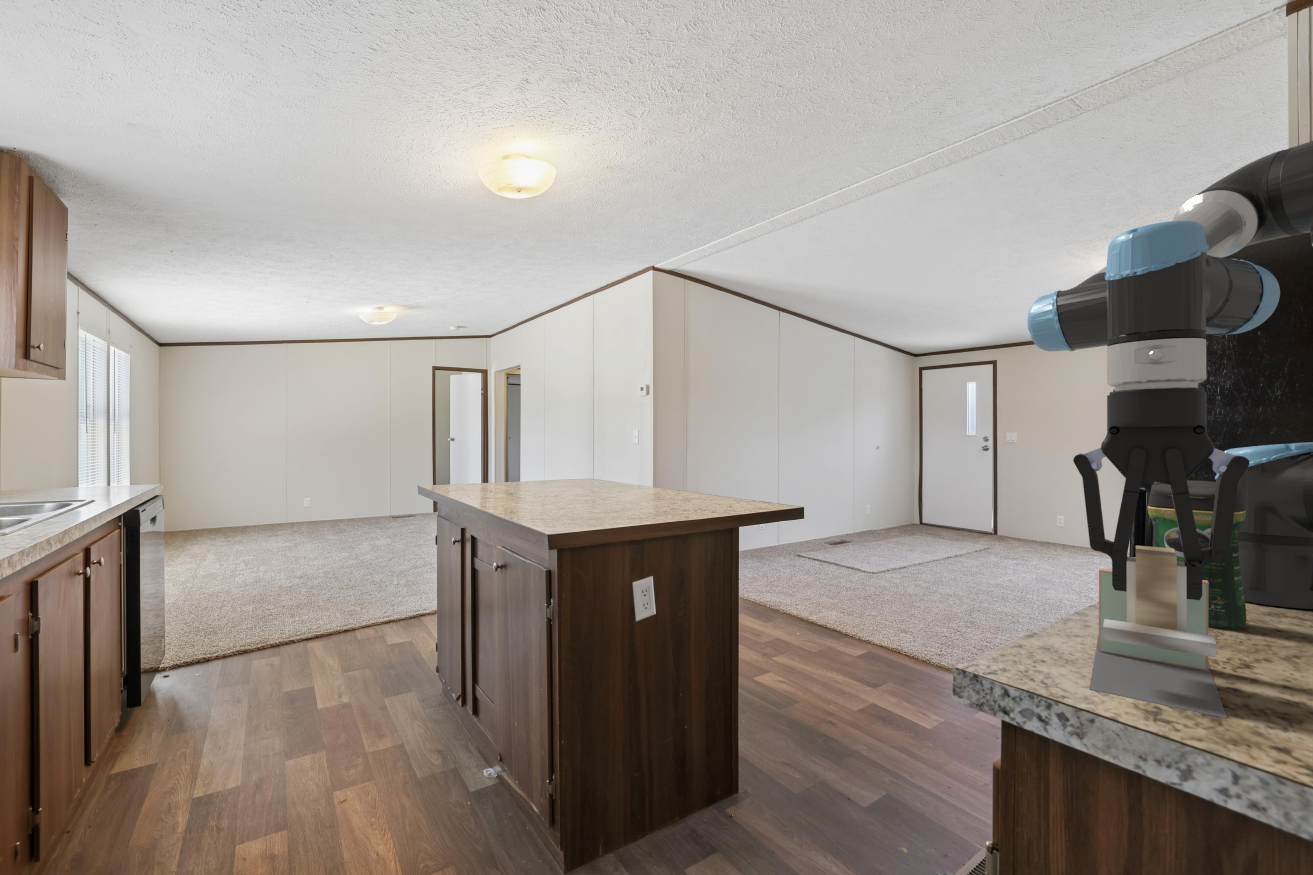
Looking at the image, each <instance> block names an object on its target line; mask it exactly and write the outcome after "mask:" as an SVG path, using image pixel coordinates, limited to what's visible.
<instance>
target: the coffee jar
mask: <svg viewBox="0 0 1313 875" xmlns="http://www.w3.org/2000/svg"><path fill="white" fill-rule="evenodd" d="M1216 484H1217V482H1216V481H1208V480H1191V479H1187V485H1188V490H1189V496H1190V501H1191V506H1192V511H1193V516H1194V520H1195V525H1196V530H1197V535H1198V540H1199V545H1200V549H1202V548H1207V547H1209V543H1210V535H1211V526H1212V518H1213V509H1214V501H1215V492H1216ZM1150 488H1151V489H1150V492H1149V497H1148V498H1149V499H1148V504H1147V506H1146V507H1147V513H1148V516H1149V518H1150V520H1151V522H1152V528H1153V529H1152V530H1153V547H1161V548H1173V549H1174V551H1175V554H1176V557H1177V561H1179V562H1184V554H1183V549H1182V544H1181V539H1180V534H1179V529H1178V524H1177V519H1176V514H1175V509H1174V504H1173V499H1172V494H1171V490H1170V485H1169V484H1163V483H1159V482H1153V484H1152V485H1151V487H1150ZM1245 517H1246V511H1245V505H1244V501H1243V496H1242V492H1241V489H1240V487H1239V486H1237V494H1236V502H1235V511H1234V519H1233V527H1232V536H1231V544H1230V553H1229V558H1228V560H1227V561H1225V562H1214V563H1209V564H1206V565H1205V566H1204V567H1203V569H1202V580H1207V581H1208V582H1209V597H1208V628H1210V629H1217V630H1225V631H1228V630H1237V631H1239V630H1241V629H1243V628H1244V627H1245V626H1246V624H1247V608H1246V601H1245V598H1244V591H1243V585H1242V578H1241V571H1240V563H1239V546H1238V538H1239V530H1240V527H1241V525H1242V524H1243V522H1244V520H1245Z"/></svg>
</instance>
